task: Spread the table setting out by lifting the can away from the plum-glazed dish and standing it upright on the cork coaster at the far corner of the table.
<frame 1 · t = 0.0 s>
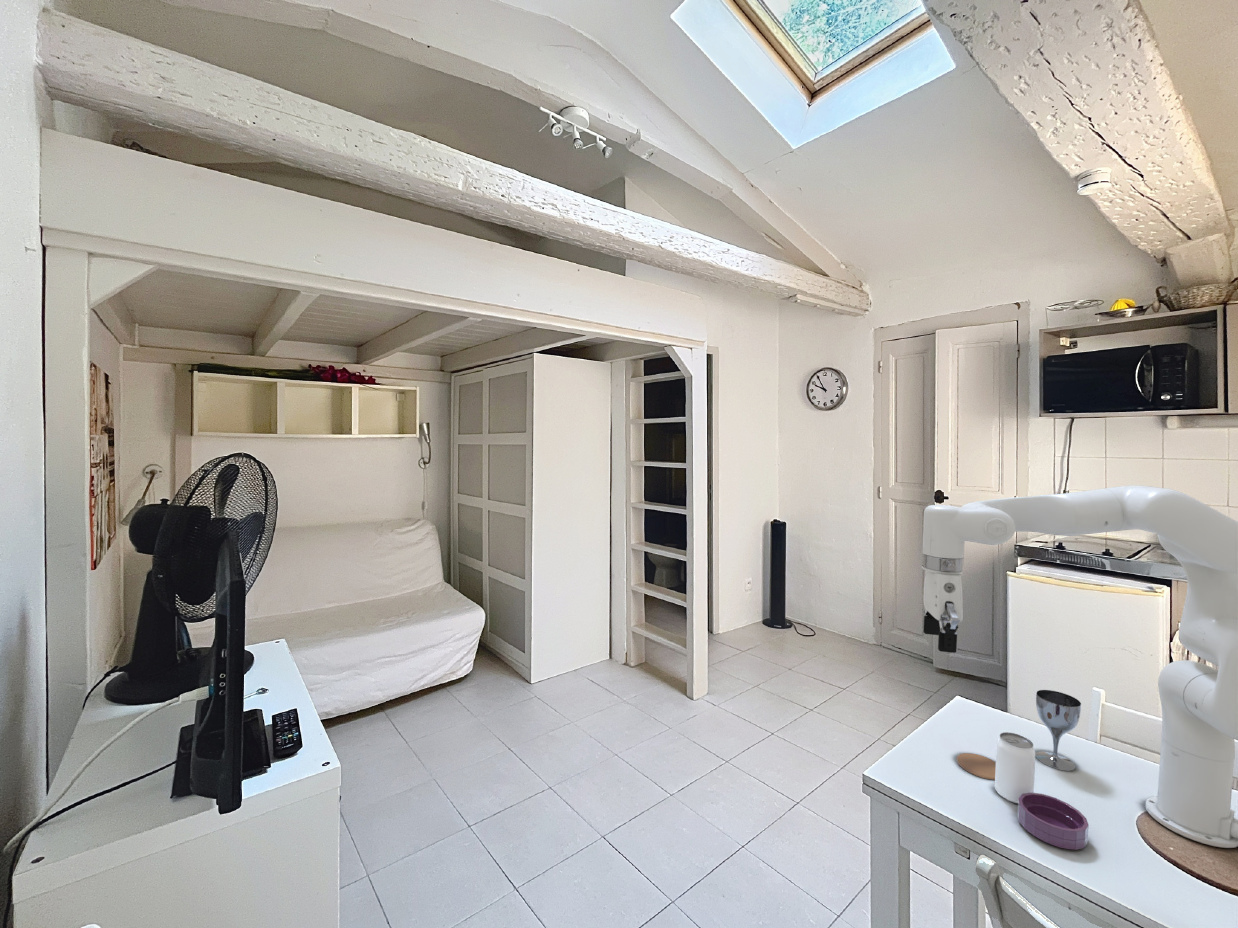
hand: (939, 642, 112), 31 cm above the table, tool pointing down, fingers open, 9 cm apart
wine glass: (1054, 761, 122), on the table
can: (1013, 795, 110), on the table
dish: (1051, 830, 100), on the table
coaster: (980, 766, 119), on the table
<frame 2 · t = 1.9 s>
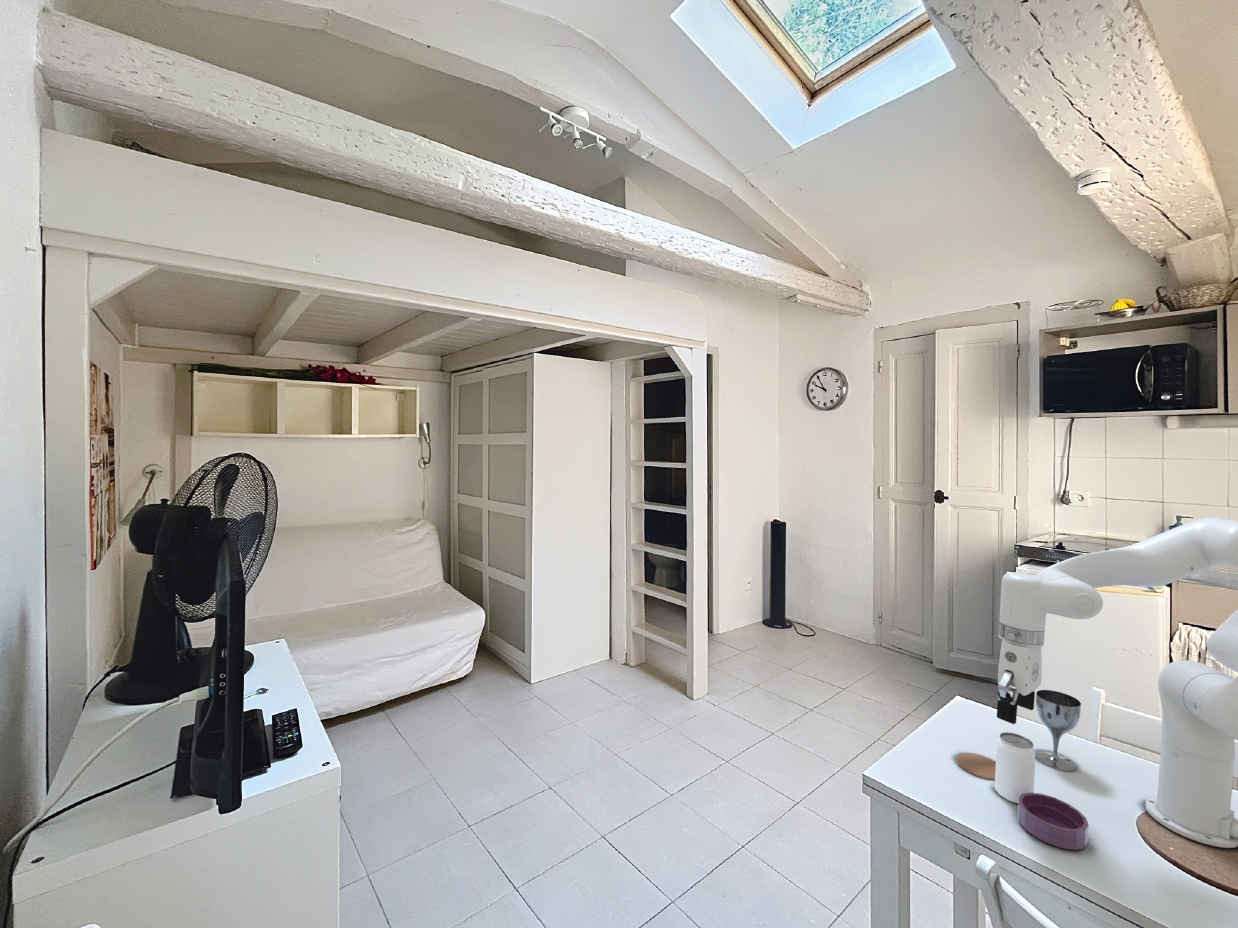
hand: (1015, 713, 109), 18 cm above the table, tool pointing down, fingers open, 9 cm apart
nothing on the table moved.
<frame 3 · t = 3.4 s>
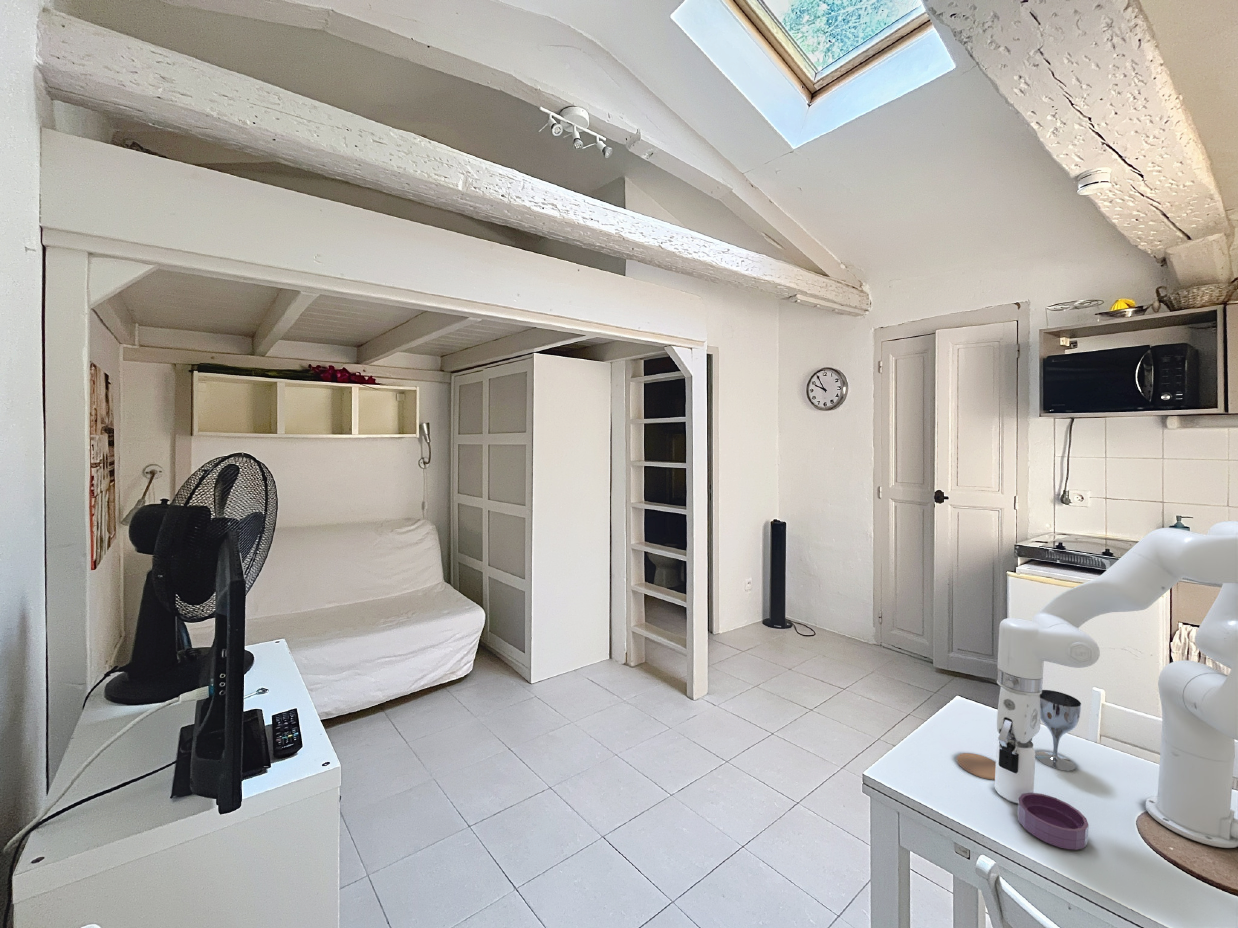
hand: (1015, 762, 110), 7 cm above the table, tool pointing down, fingers closed on can, 6 cm apart
can: (1013, 795, 110), on the table, touching gripper
everything else where it was.
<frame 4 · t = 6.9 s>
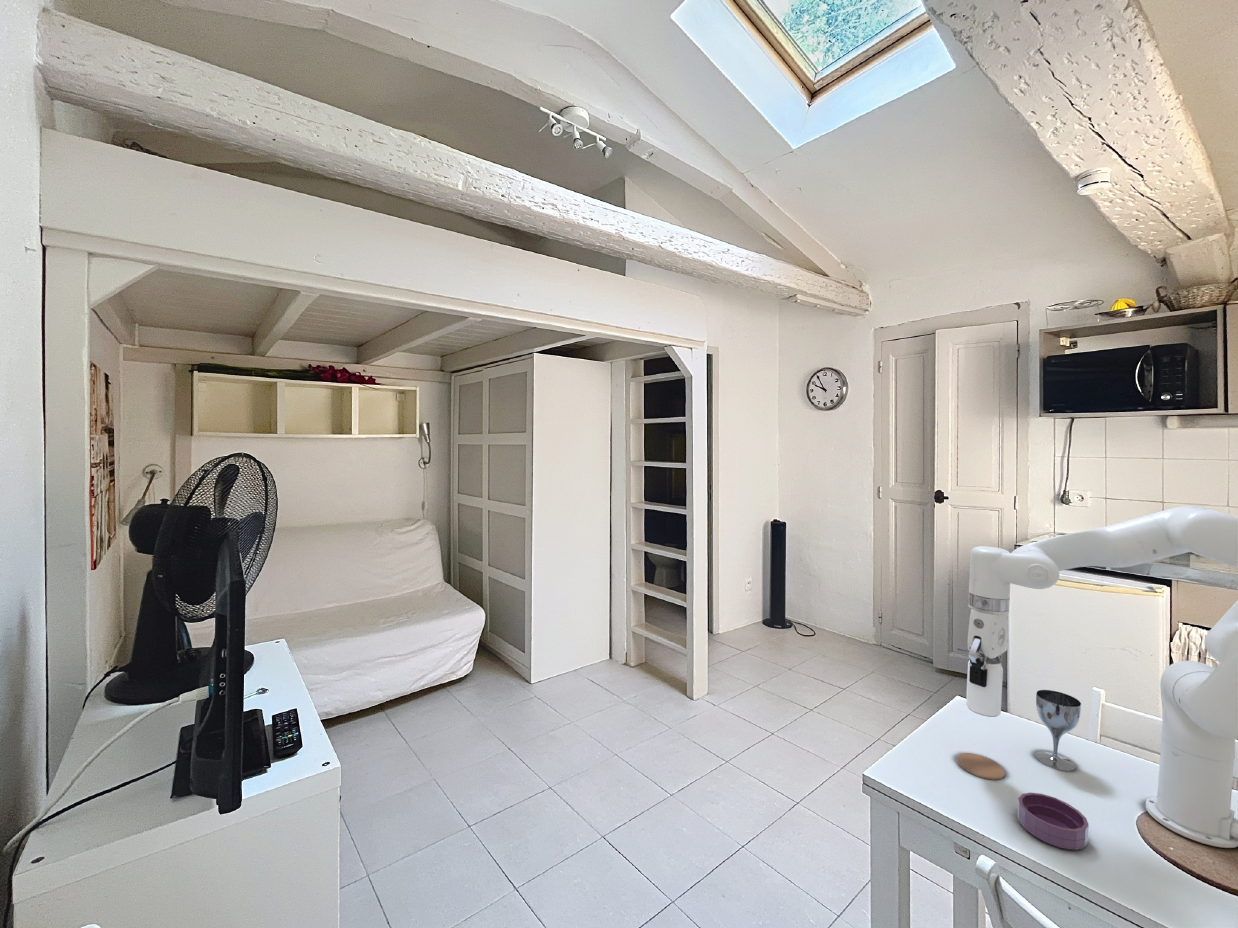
hand: (984, 679, 118), 20 cm above the table, tool pointing down, fingers closed on can, 6 cm apart
can: (983, 710, 119), point 13 cm above the table, touching gripper
everything else where it was.
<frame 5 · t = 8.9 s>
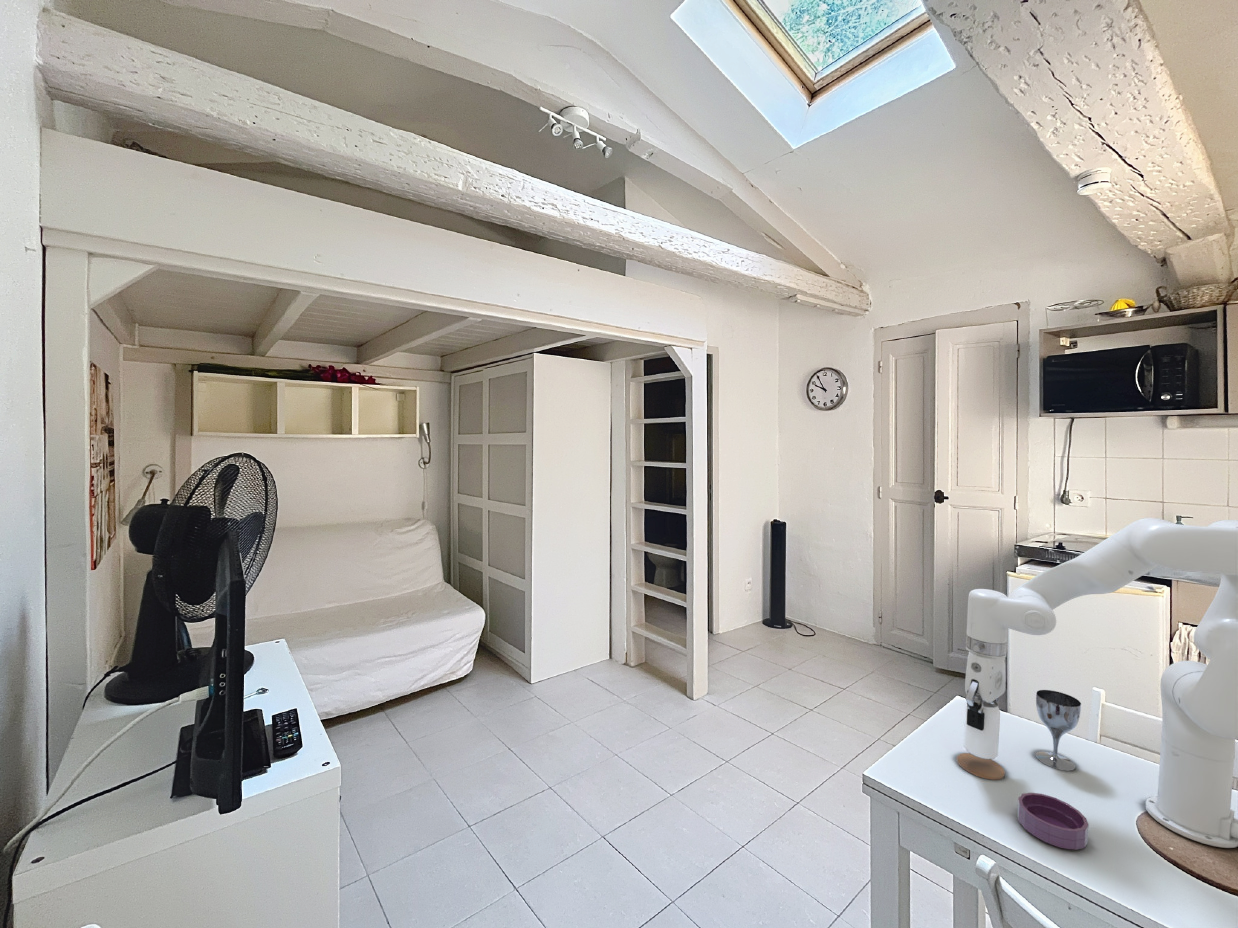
hand: (982, 721, 119), 11 cm above the table, tool pointing down, fingers closed on can, 6 cm apart
can: (980, 752, 119), point 3 cm above the table, touching gripper
everything else where it was.
when the fingers open (8 cm above the table, at t = 10.3 s): can stays where it is, resting on coaster.
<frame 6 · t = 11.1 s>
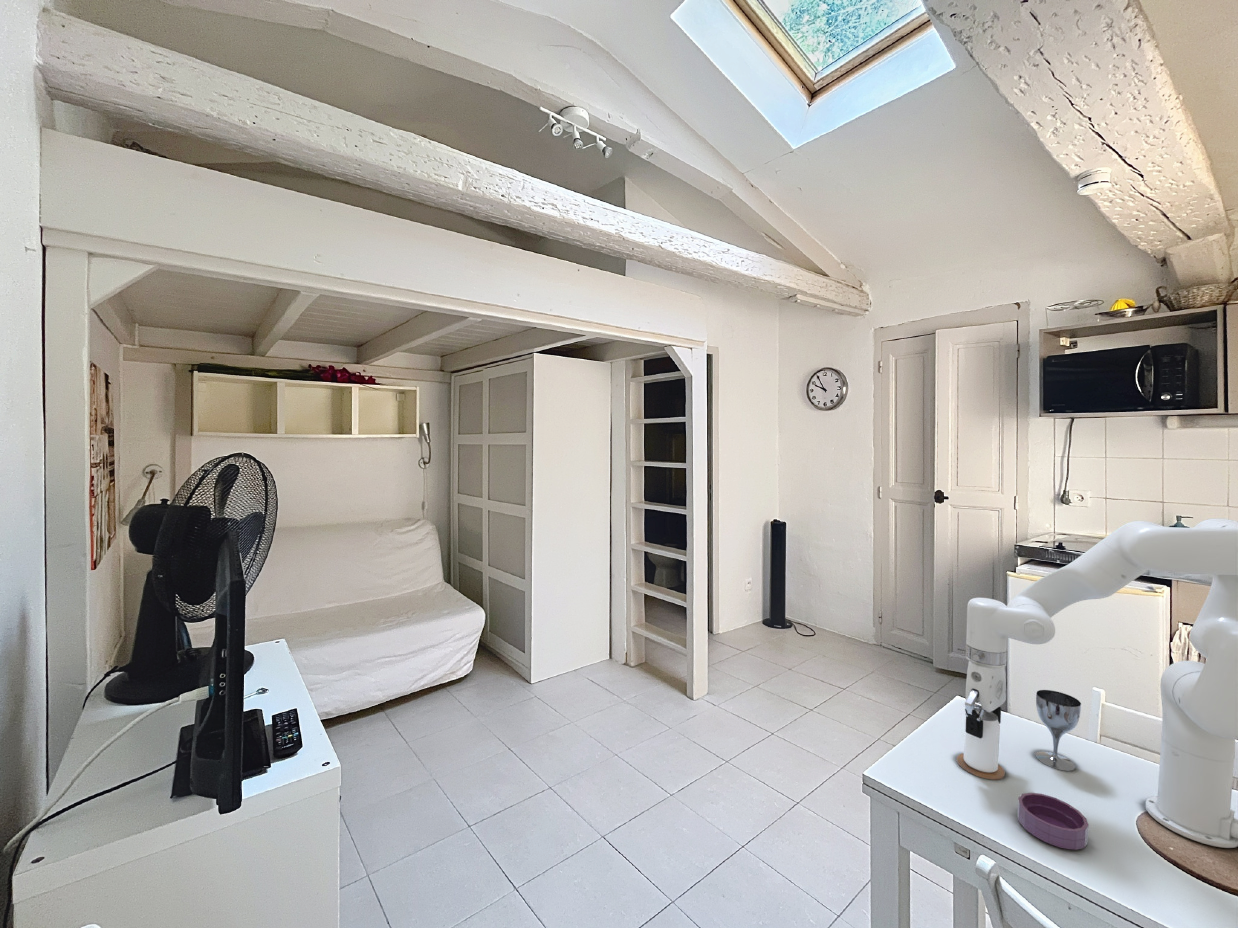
hand: (983, 728, 119), 9 cm above the table, tool pointing down, fingers open, 9 cm apart
can: (980, 765, 119), resting on coaster
everything else where it was.
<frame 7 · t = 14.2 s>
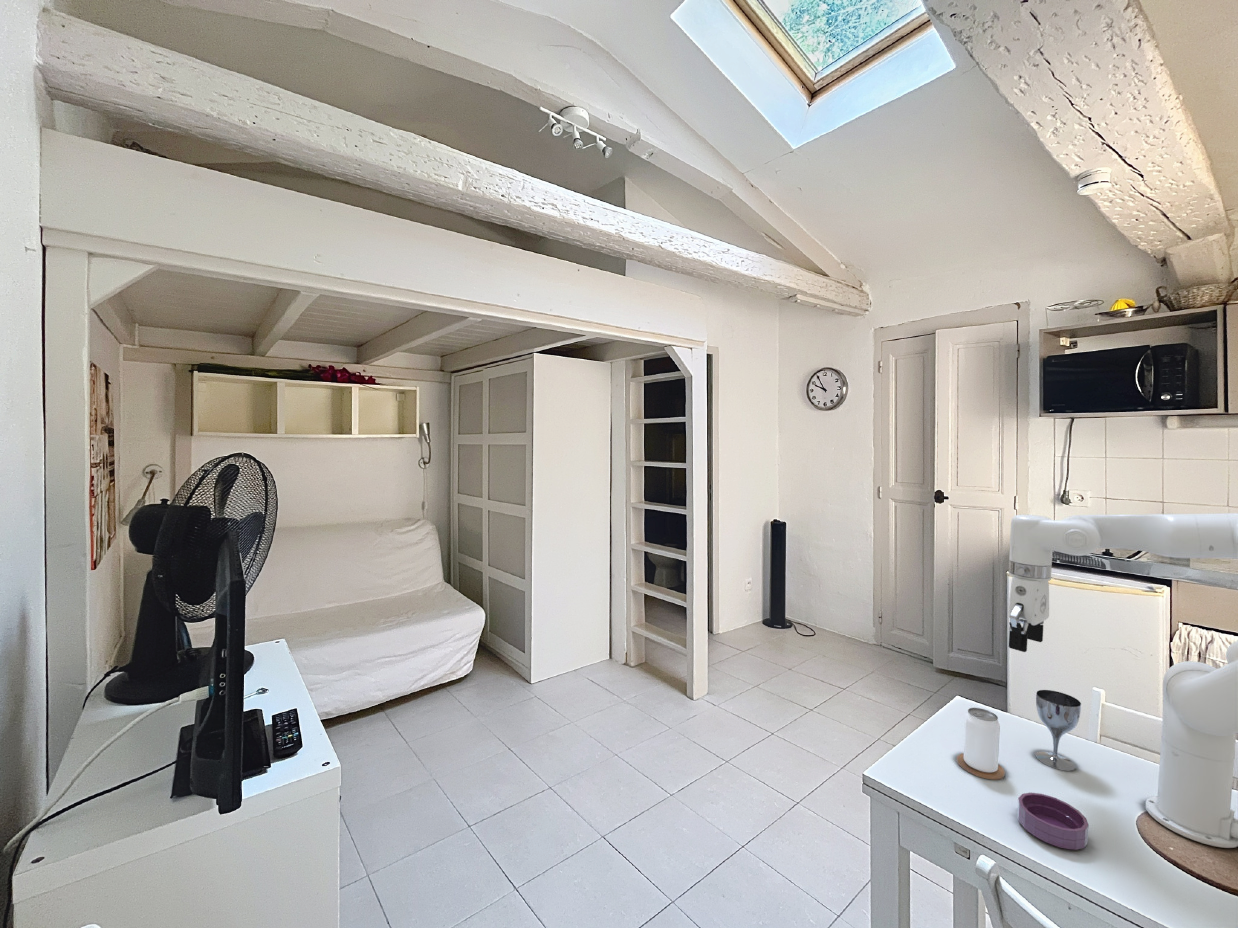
hand: (1025, 644, 118), 28 cm above the table, tool pointing down, fingers open, 9 cm apart
nothing on the table moved.
at the end: can 0.0 cm from the target spot, resting on coaster; can tilted 0°; wine glass moved 0.2 cm from its start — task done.
